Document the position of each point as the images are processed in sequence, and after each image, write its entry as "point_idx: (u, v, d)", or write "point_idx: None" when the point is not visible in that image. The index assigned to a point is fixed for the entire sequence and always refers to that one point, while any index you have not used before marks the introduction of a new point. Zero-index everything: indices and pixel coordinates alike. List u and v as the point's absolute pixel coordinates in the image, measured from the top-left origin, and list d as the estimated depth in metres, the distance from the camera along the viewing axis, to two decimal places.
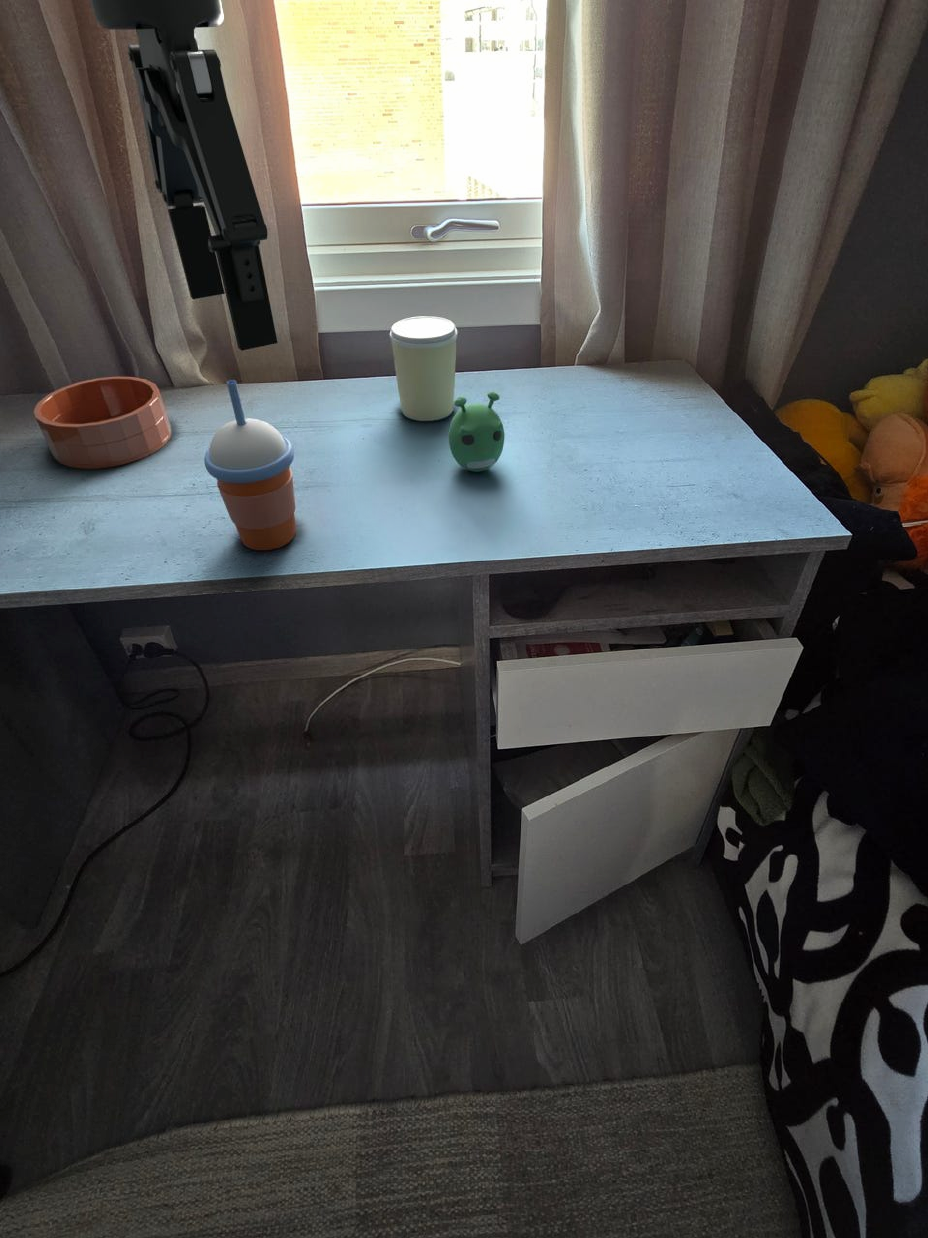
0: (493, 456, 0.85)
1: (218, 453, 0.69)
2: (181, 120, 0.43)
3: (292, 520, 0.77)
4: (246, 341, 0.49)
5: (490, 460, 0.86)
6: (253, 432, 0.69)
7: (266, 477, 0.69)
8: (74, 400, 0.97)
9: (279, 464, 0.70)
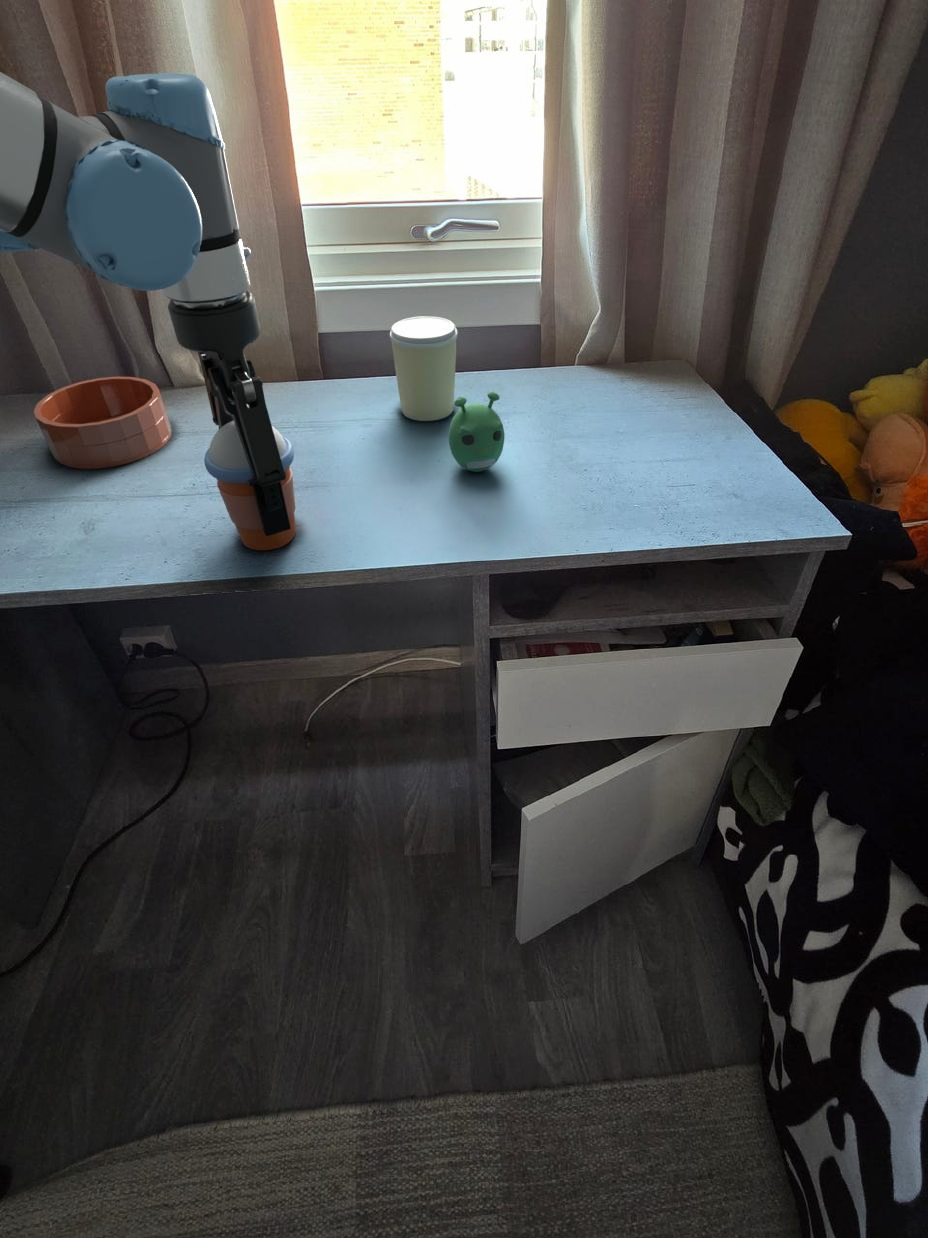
0: (493, 456, 0.85)
1: (218, 453, 0.69)
2: None
3: (292, 520, 0.77)
4: (270, 530, 0.72)
5: (490, 460, 0.86)
6: None
7: None
8: (74, 400, 0.97)
9: None
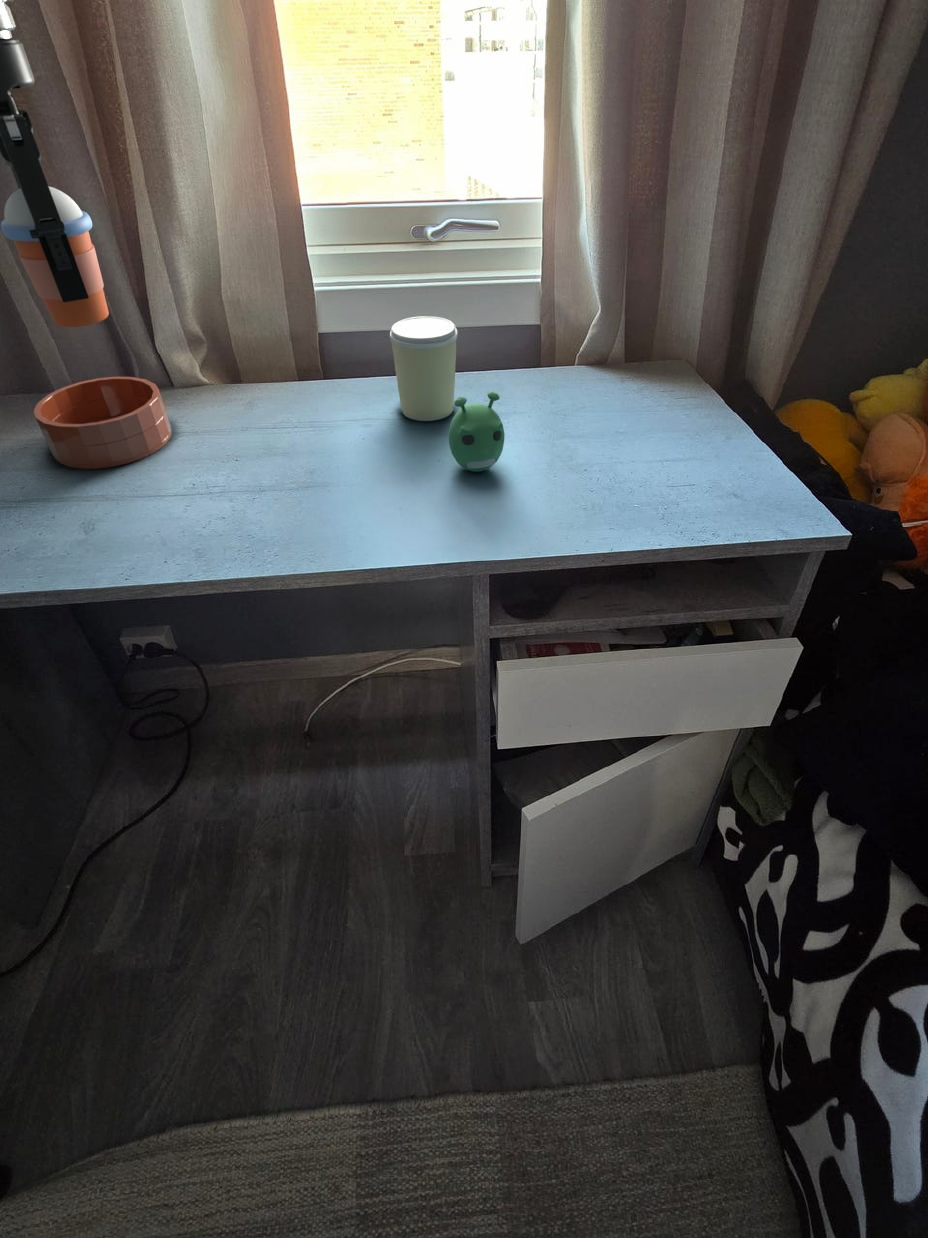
0: (493, 456, 0.85)
1: (8, 212, 0.73)
2: None
3: (99, 299, 0.81)
4: (66, 296, 0.76)
5: (490, 460, 0.86)
6: None
7: None
8: (74, 400, 0.97)
9: (69, 226, 0.74)
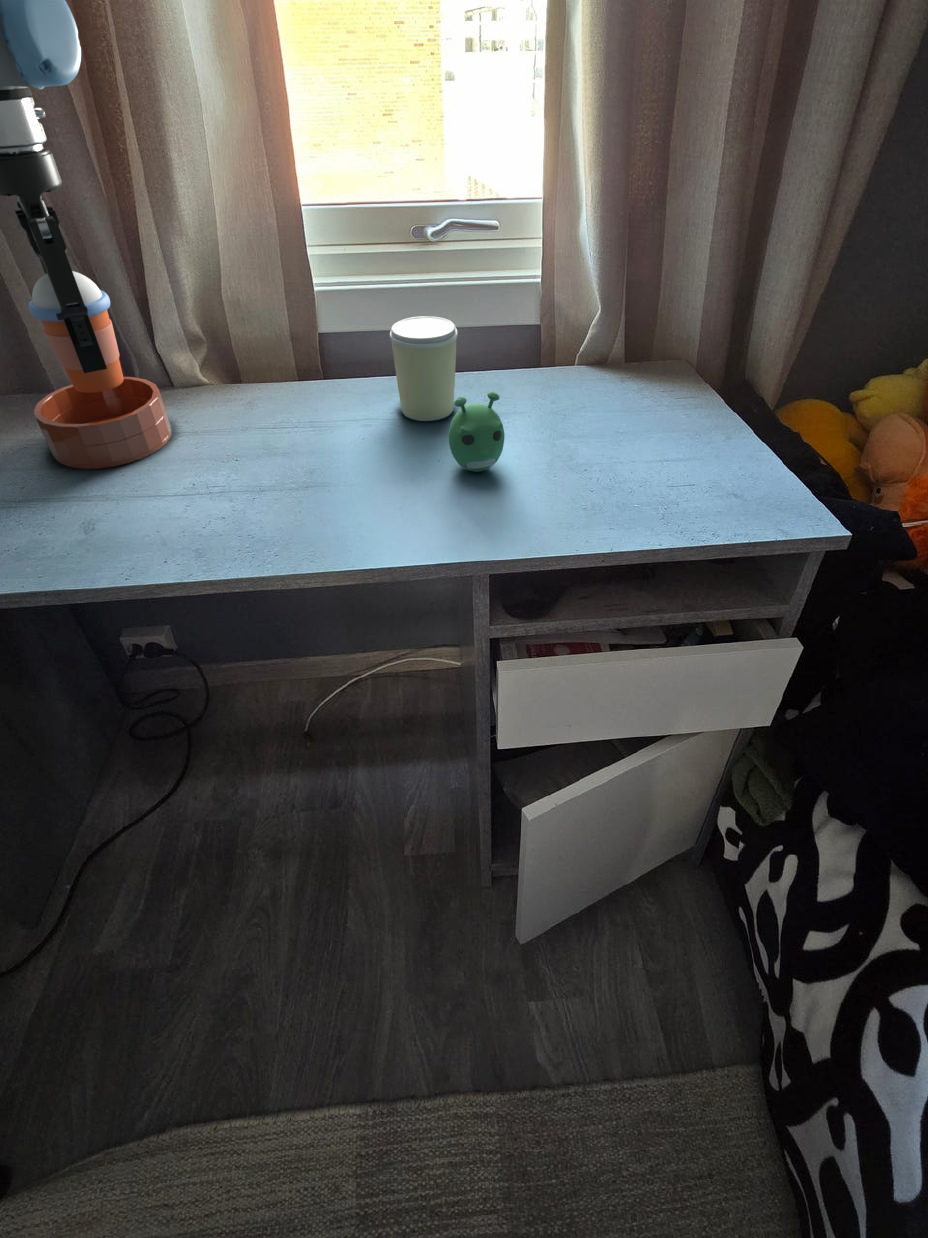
0: (493, 456, 0.85)
1: (36, 295, 0.81)
2: None
3: (115, 367, 0.89)
4: (87, 368, 0.85)
5: (490, 460, 0.86)
6: None
7: None
8: (74, 400, 0.97)
9: (90, 307, 0.82)
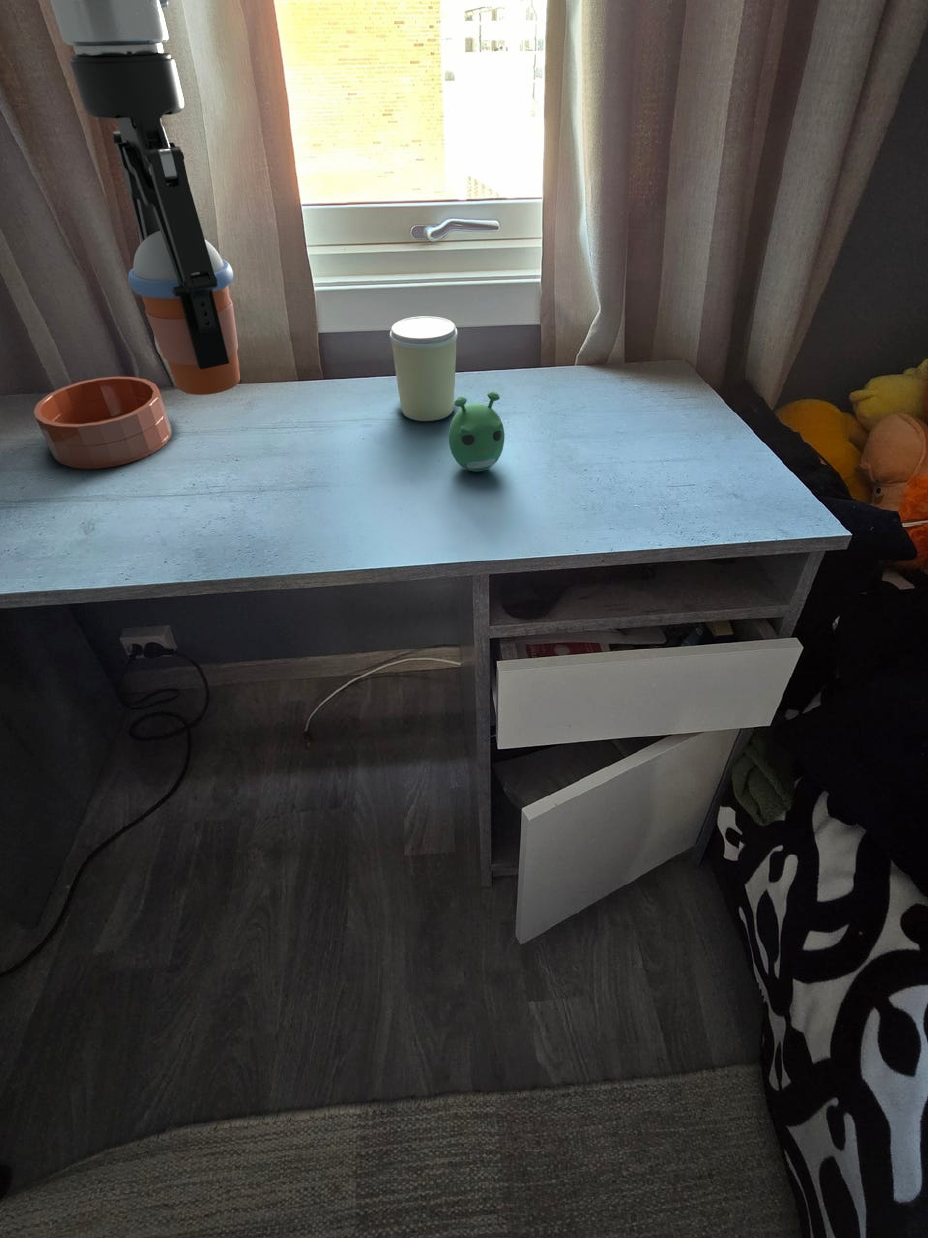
0: (493, 456, 0.85)
1: (141, 263, 0.60)
2: None
3: (234, 361, 0.67)
4: (204, 362, 0.63)
5: (490, 460, 0.86)
6: None
7: None
8: (74, 400, 0.97)
9: None
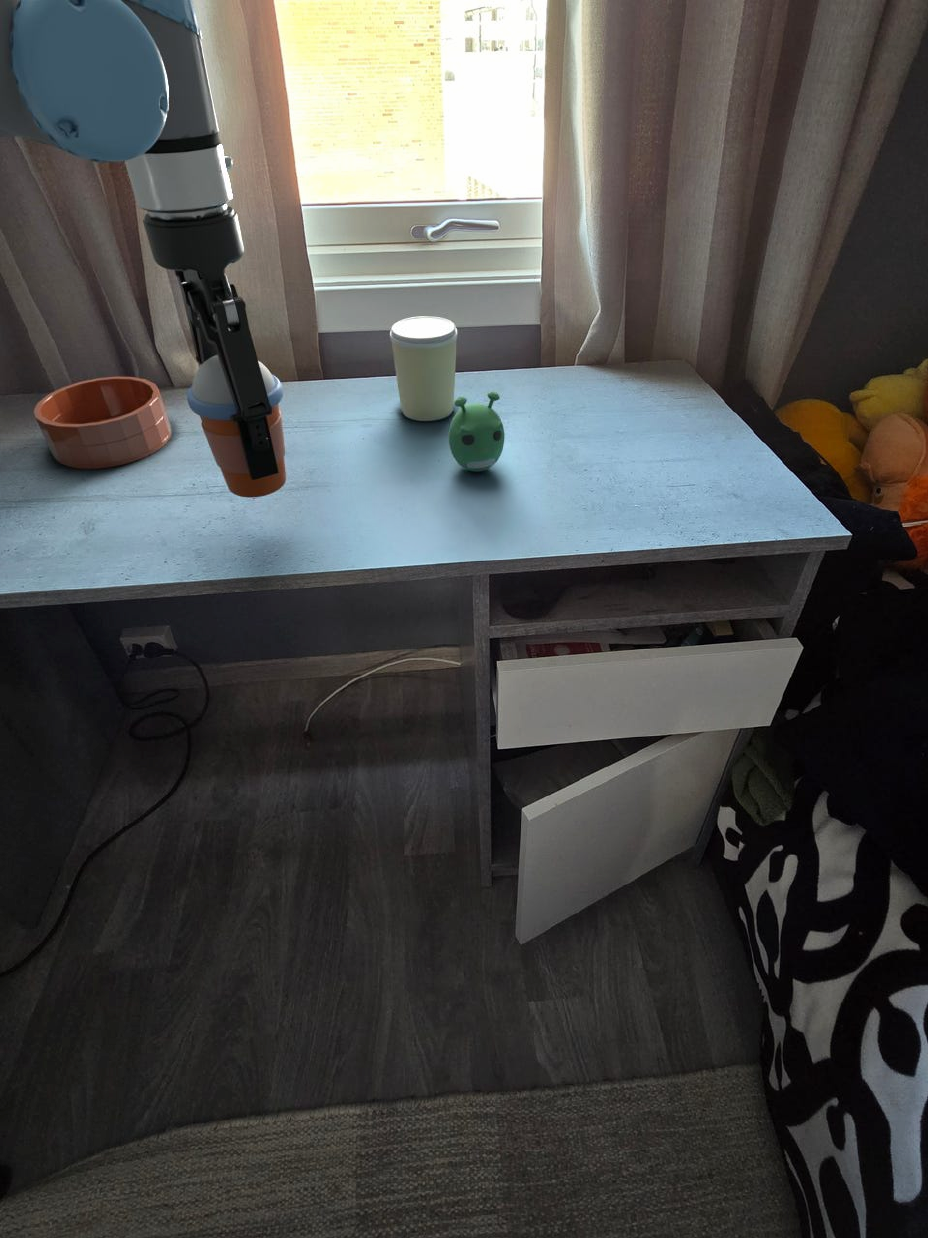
0: (493, 456, 0.85)
1: (201, 388, 0.64)
2: None
3: (282, 465, 0.72)
4: (256, 474, 0.68)
5: (490, 460, 0.86)
6: None
7: None
8: (74, 400, 0.97)
9: None
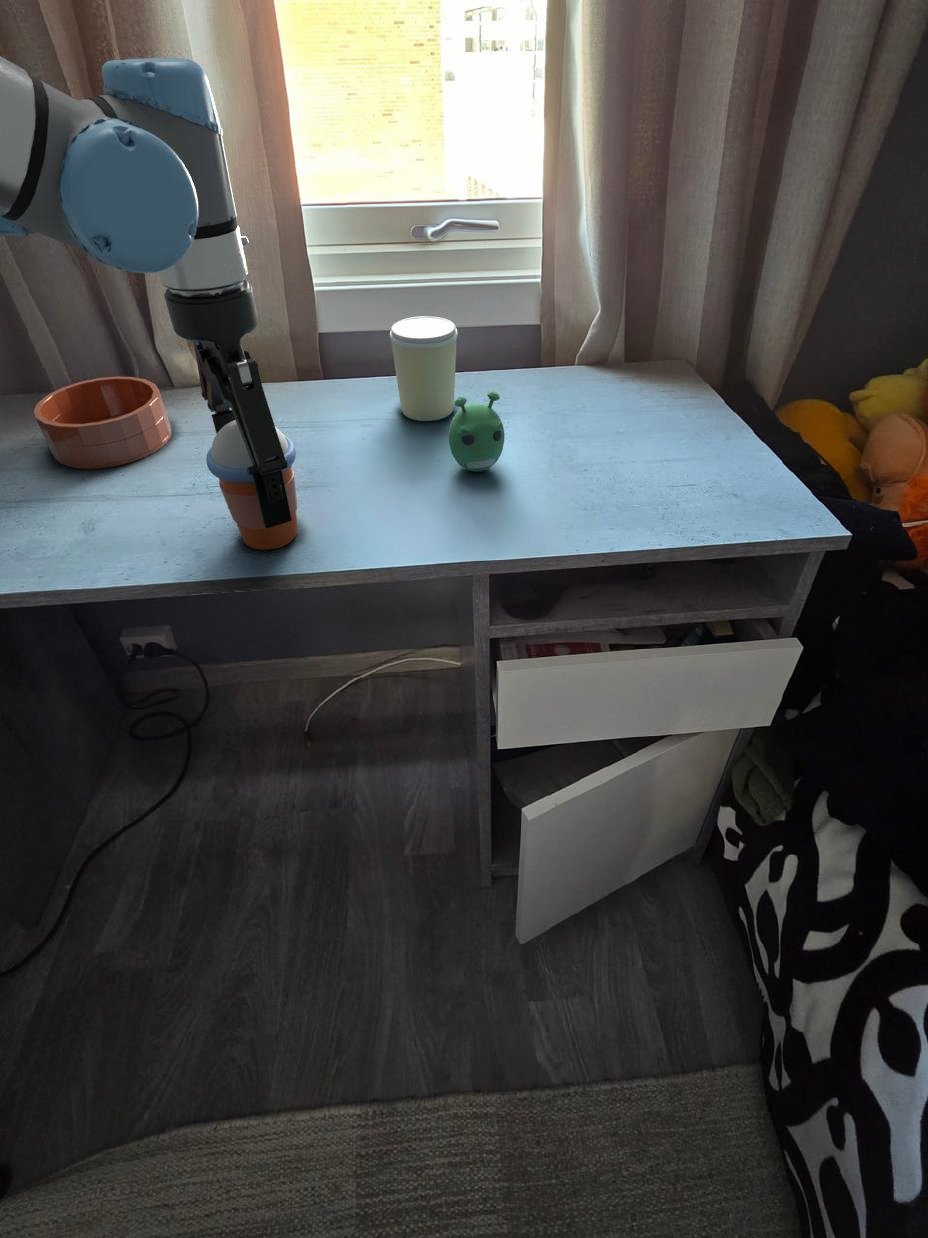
0: (493, 456, 0.85)
1: (220, 453, 0.69)
2: (229, 387, 0.64)
3: (294, 519, 0.77)
4: (270, 522, 0.69)
5: (490, 460, 0.86)
6: None
7: None
8: (74, 400, 0.97)
9: None
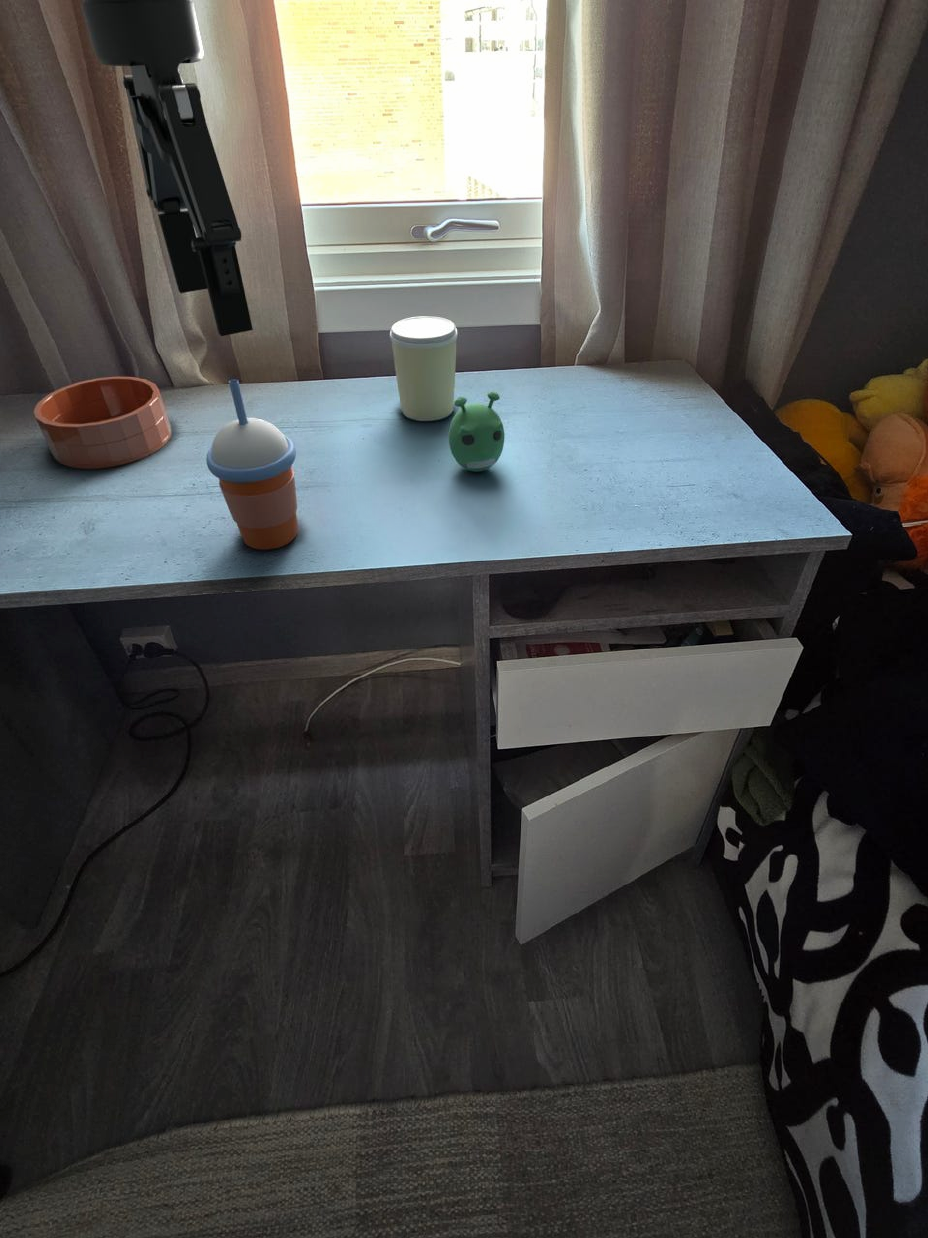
0: (493, 456, 0.85)
1: (220, 453, 0.69)
2: (168, 140, 0.51)
3: (294, 519, 0.77)
4: (225, 328, 0.57)
5: (490, 460, 0.86)
6: (255, 431, 0.69)
7: (268, 476, 0.69)
8: (74, 400, 0.97)
9: (281, 463, 0.70)
